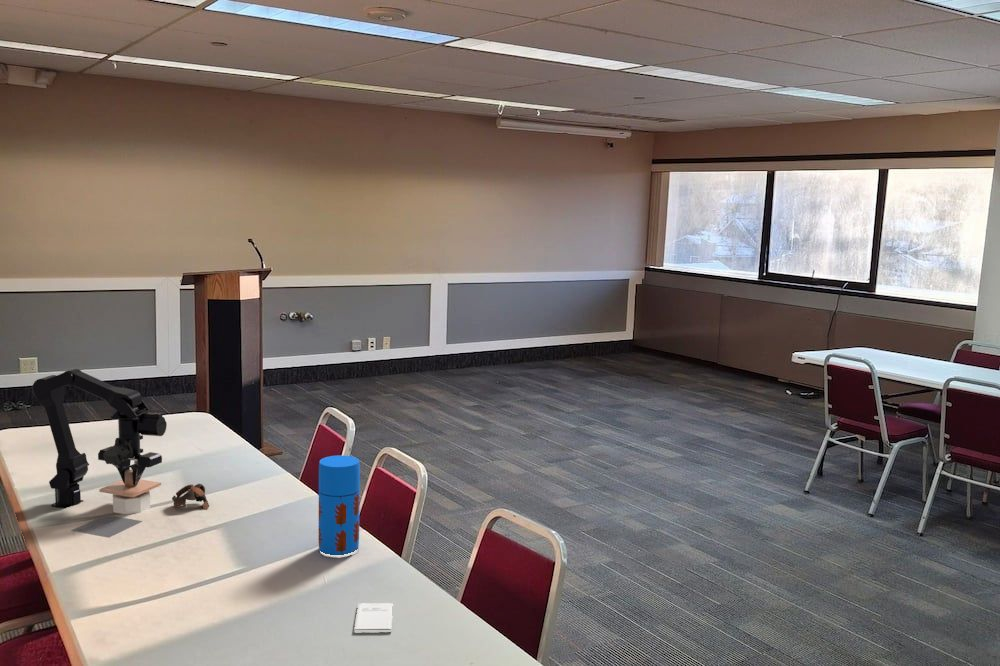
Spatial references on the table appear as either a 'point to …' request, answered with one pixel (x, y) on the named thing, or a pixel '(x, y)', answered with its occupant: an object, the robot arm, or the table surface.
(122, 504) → the bowl
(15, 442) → the table surface
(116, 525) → the mat
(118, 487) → the lid
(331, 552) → the thermos
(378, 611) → the external hard drive
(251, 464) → the table surface
